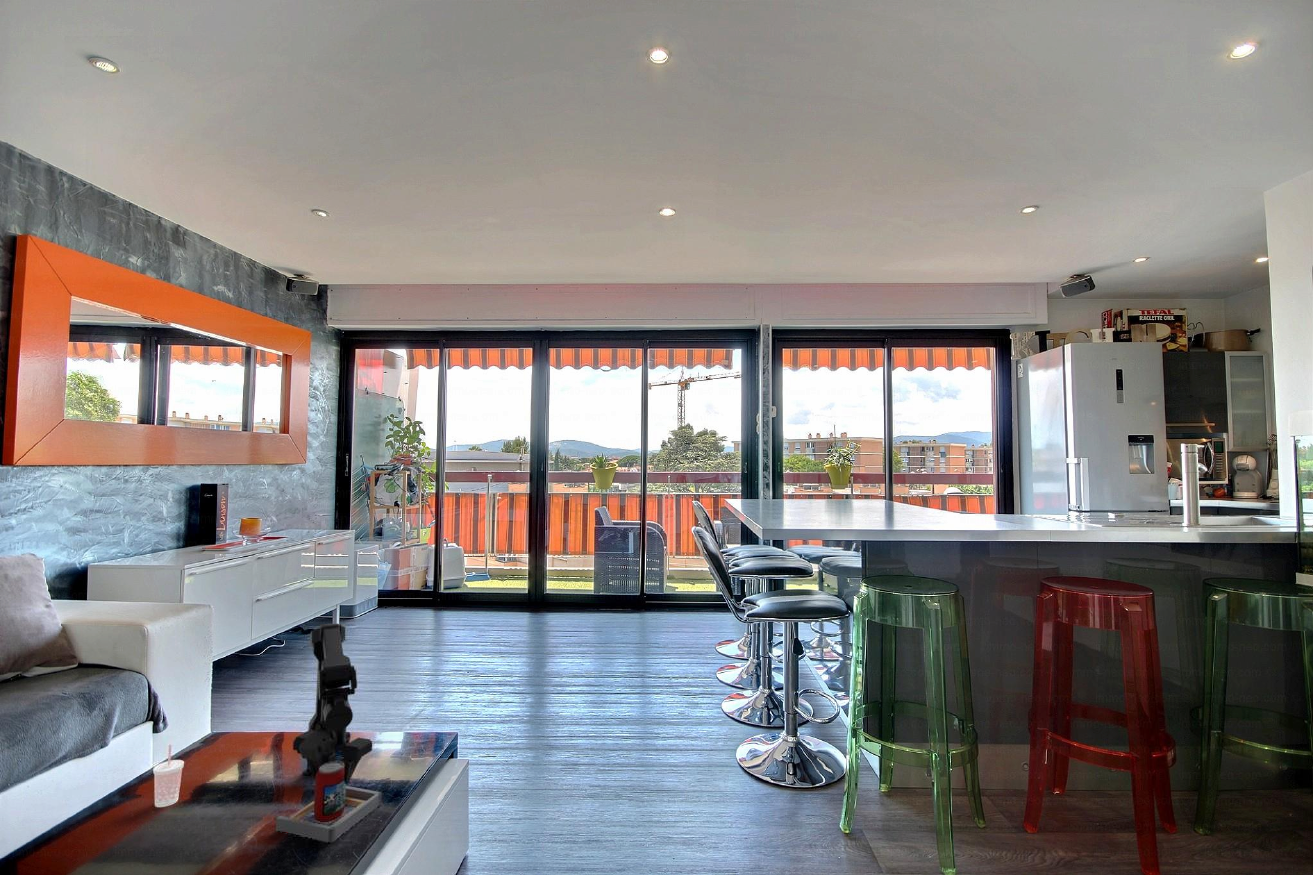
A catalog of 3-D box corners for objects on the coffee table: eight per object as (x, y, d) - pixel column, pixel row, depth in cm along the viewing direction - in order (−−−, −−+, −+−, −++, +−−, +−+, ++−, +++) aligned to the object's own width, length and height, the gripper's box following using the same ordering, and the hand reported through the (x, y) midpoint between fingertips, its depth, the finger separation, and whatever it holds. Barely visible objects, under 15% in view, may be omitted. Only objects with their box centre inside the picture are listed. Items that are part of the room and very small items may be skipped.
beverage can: (331, 826, 146) (333, 775, 146) (306, 822, 147) (309, 771, 148) (350, 810, 152) (353, 761, 153) (327, 807, 154) (329, 758, 154)
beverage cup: (186, 799, 155) (190, 743, 156) (158, 811, 150) (161, 753, 151) (174, 793, 158) (177, 737, 159) (146, 804, 153) (149, 747, 153)
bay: (276, 831, 143) (276, 817, 144) (330, 794, 160) (330, 782, 160) (331, 843, 140) (332, 829, 140) (381, 804, 156) (381, 792, 156)
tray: (284, 829, 145) (285, 820, 145) (325, 801, 157) (325, 793, 158) (329, 838, 142) (329, 829, 142) (367, 809, 154) (367, 800, 154)
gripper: (275, 723, 145) (271, 790, 145) (341, 734, 141) (338, 803, 140) (312, 705, 156) (309, 768, 155) (375, 715, 151) (372, 779, 151)
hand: (330, 779), depth 150 cm, fingers open, 9 cm apart
